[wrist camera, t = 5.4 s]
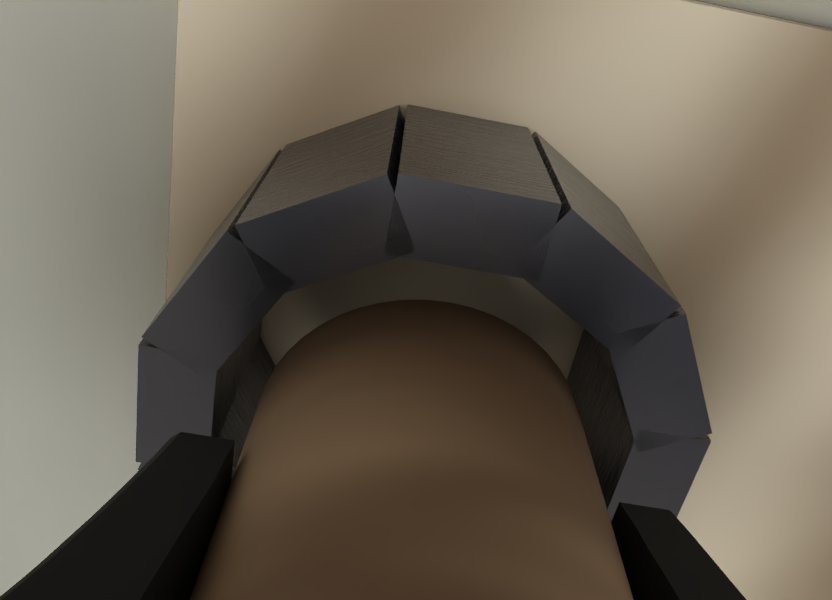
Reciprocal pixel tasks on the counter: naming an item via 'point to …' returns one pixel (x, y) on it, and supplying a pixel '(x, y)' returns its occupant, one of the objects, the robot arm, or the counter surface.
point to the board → (609, 171)
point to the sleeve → (446, 244)
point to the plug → (414, 470)
